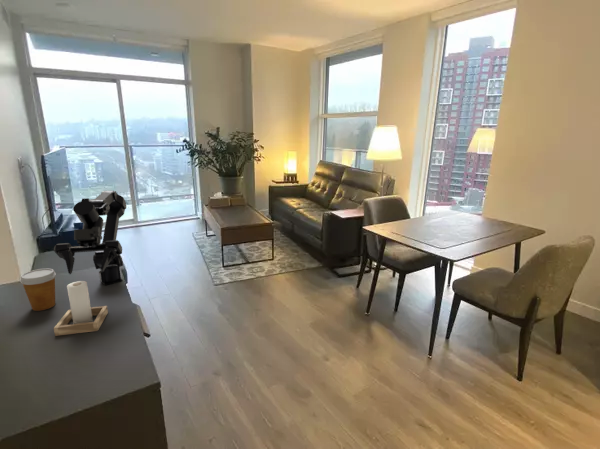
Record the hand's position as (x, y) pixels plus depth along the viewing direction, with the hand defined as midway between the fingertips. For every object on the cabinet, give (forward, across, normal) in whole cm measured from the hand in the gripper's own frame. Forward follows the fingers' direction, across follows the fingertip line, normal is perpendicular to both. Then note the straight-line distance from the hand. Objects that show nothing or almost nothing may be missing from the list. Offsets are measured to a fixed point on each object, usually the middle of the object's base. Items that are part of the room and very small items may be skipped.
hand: (86, 272), depth 107 cm
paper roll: (+15, 0, +4) cm, 16 cm away
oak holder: (+16, 0, +4) cm, 16 cm away
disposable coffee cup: (+5, -16, +15) cm, 22 cm away
